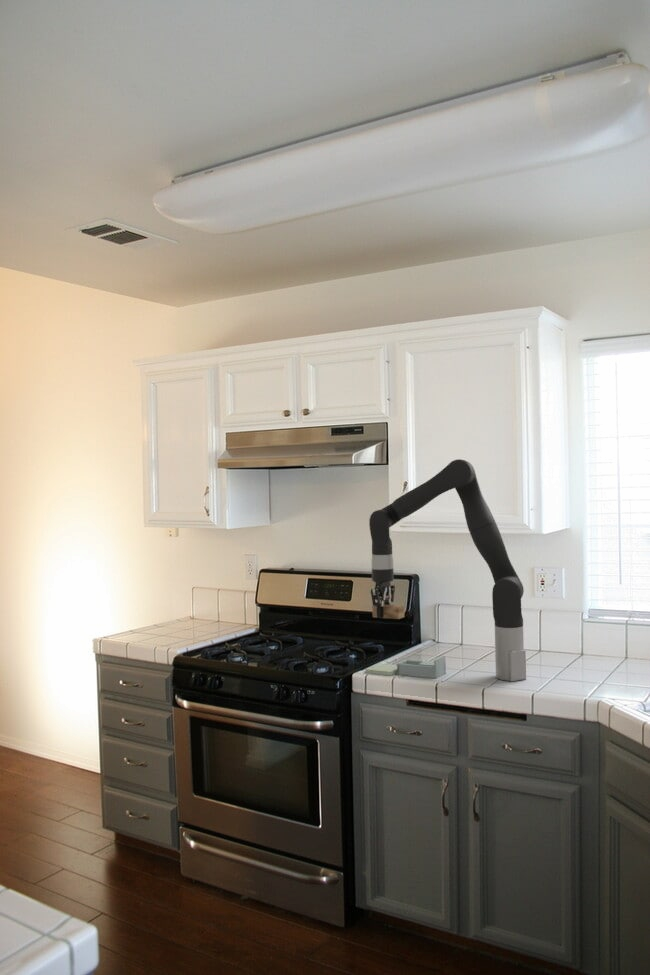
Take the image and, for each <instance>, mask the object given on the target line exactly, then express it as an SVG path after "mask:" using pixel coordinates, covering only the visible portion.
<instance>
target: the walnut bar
mask: <svg viewBox="0 0 650 975" xmlns="http://www.w3.org/2000/svg"><path fill="white" fill-rule="evenodd" d="M371 606H372V607H371V608H372V618H377V607H376V606H373V605H371ZM403 618H405V605H404V604H402V605H401V604H391V605H388V604H384V603H383V618H382V619H393V620H400V619H403ZM377 619H378V618H377Z"/></svg>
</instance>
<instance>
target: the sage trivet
mask: <svg viewBox="0 0 650 975" xmlns="http://www.w3.org/2000/svg"><path fill="white" fill-rule="evenodd" d="M364 670H365V671H364V673H366V674H373V675H374V674H375V675H384V676H394V675H395V674H396V675H397V664H388V663H375V664H373V665H372V666H369V667H367V668H365V669H364Z"/></svg>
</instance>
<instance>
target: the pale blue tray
mask: <svg viewBox="0 0 650 975" xmlns="http://www.w3.org/2000/svg"><path fill="white" fill-rule="evenodd" d="M396 665H397V673H396V675H401V676H408V677H410V676H411V677H417V678H419V677H420V678H428V679H438V678H440V677H442V676H443V675H446V674H447V669H446V668H447V666H446V655H442V656H440V657H438V658H436V659H434V660H423V661H422V660H413V659H405V660H403V661H400V662H398V663H397V664H396Z"/></svg>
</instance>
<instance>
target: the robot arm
mask: <svg viewBox="0 0 650 975" xmlns="http://www.w3.org/2000/svg"><path fill="white" fill-rule="evenodd" d="M453 489H455V491H456V493H457V495H458V497H459V499H460V501H461V504H462V507H463V514H464V518H465V520H466V526H467V529H468V532H469V534H470V537H471V539H472V541H473V544H474V545H475V547H476V550H477V551H478V553H479V554H480V556H481V557H482V558H483V560H484V562H485V563H486V564H487V567H488V568H489V570H490V573H491V576H492V578H493V582H494V585H493V586H492V595H491V597H492V600H491V601H492V616H493V620H494V646H495V647H494V649H495V650H494V654H495V655H494V656H495V657H494V658H495V678H496V679H498V680H502V681H509V682H516V681H523V680H526V679H527V661H526V660H527V657H526V655H527V654H526V649H525V646H524V639H525V638H524V618H523V614H522V598H523V595H524V591H525V590H524V585H523V583H522V581H521V579H520V578H519V576H518V574H517V572H516V570H515V568H514V566H513V564H512V563H511V560H510V558H509V555H508V551H507V549H506V546H505V544H504V540H503V538H502V535H501V532H500V529H499V527H498V525H497V522H496V519H495V518H494V515H493V514H492V512H491V509H490V507H489V505H488V504H487V502H486V500H485V498H484V496H483V494H482V491H481V488H480V484H479V481H478V478H477V474H476V470H475V468H474V466H473V465H472V463H470V461H467V460H465V459H454V460H452V461H450V462H449V463H448V464H447V465H446V466H445V467H443V469H442V470H440V471H439V472H438V473H436V474H435V475H434V476H432V477H431V478H430V479H428V480H427V481H425V482H424V483H421V484H420V485H418V486H416V487H414V488H413V489H411V490H409V491H408V492H405V493H404V494H402V495H401V496H399V497H398V498H396V499H394V500H393V501H392V503H390V504H388V505H386V506H384V507H383V508H381V509H377V510H374V511H373V512H372V513H371V514H370V515H369V520H368V521H369V532H370V537H371V538H370V539H371V581H372V582H374V583H375V585H374V588H371V589H370V595H371V602H372V606H376V607H377V619H384V618H383V604H388V605H392V603H394V600H395V589H396V586H395V585H394V584H393V585H392V584H391V582H393V581H394V580H395V578H394V577H395V576H394V573H395V572H394V557H393V542H392V538H391V537H390V528H391V527H393V526H394V525H395V524H397V523H399V522H400V521H401V520H403V519H405V518H407V517H409V516H410V515H412V514H414V513H415V512H417V511H418V510H420V509H422V508H423V507H425V506H426V505H428V504H429V503H430V502H432V501H433V500H434V499H436V498H437V497H439V496H440V495H442V494H444V493H446V492H448V491H451V490H453Z"/></svg>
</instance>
